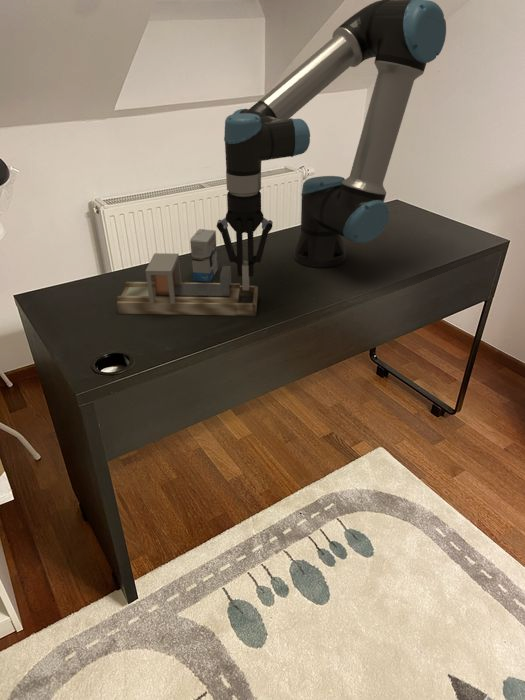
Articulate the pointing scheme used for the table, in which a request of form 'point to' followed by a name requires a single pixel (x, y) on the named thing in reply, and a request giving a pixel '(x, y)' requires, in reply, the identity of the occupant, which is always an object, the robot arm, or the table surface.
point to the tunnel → (163, 272)
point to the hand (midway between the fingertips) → (246, 287)
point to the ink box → (204, 255)
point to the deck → (188, 302)
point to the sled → (195, 286)
